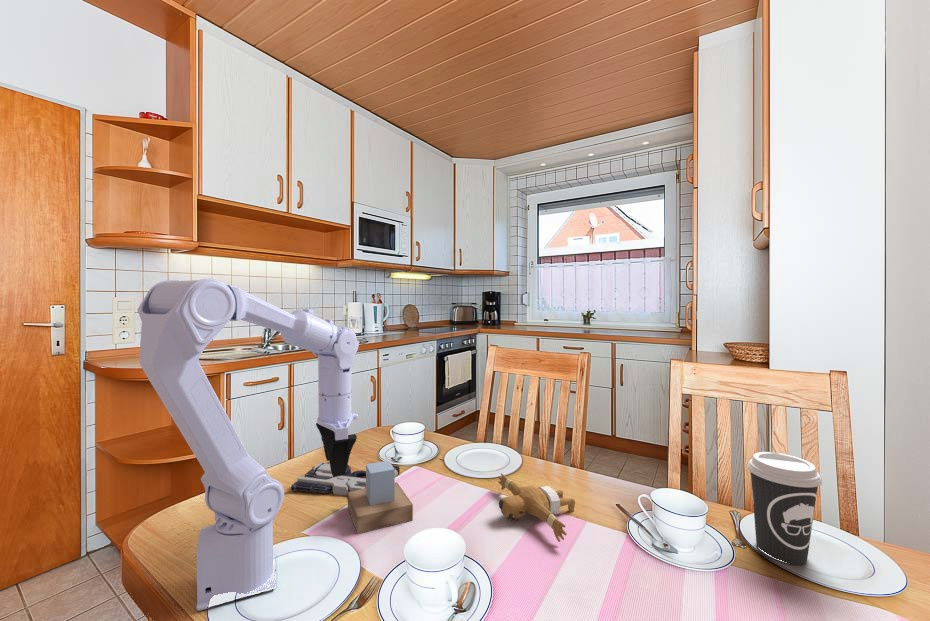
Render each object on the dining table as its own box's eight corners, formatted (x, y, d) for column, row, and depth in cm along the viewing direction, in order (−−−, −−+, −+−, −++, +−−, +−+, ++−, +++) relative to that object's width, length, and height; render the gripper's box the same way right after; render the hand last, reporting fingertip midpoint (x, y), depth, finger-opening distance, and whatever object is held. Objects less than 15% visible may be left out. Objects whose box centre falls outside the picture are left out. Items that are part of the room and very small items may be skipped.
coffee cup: (820, 550, 66) (822, 460, 66) (819, 581, 59) (822, 479, 59) (749, 528, 72) (751, 445, 72) (741, 553, 65) (743, 461, 65)
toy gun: (402, 473, 96) (378, 506, 82) (327, 464, 100) (290, 494, 85) (403, 462, 96) (378, 493, 82) (327, 453, 100) (290, 481, 85)
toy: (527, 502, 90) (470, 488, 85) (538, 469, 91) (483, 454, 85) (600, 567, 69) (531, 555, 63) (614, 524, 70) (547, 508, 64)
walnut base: (357, 533, 70) (357, 516, 70) (347, 507, 79) (347, 492, 79) (412, 520, 75) (412, 504, 75) (397, 496, 84) (397, 482, 84)
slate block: (370, 505, 74) (370, 473, 74) (366, 494, 78) (365, 464, 78) (394, 500, 76) (394, 469, 76) (389, 490, 80) (389, 460, 80)
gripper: (366, 399, 68) (366, 478, 69) (350, 383, 81) (350, 450, 82) (322, 403, 65) (322, 487, 65) (313, 386, 78) (313, 455, 78)
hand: (335, 467), depth 73 cm, fingers open, 7 cm apart
